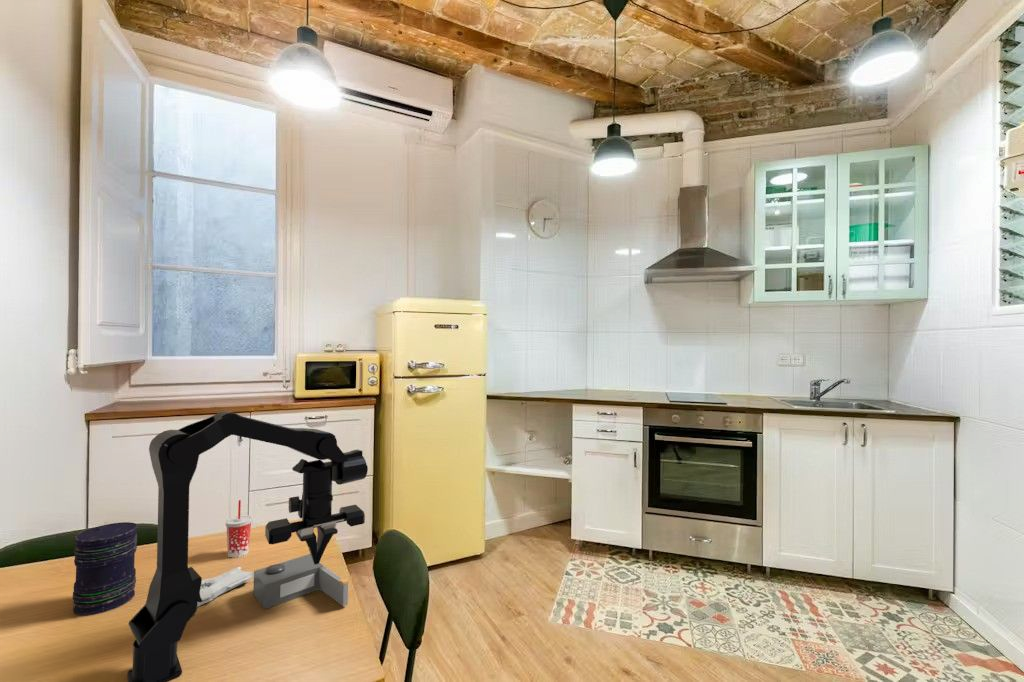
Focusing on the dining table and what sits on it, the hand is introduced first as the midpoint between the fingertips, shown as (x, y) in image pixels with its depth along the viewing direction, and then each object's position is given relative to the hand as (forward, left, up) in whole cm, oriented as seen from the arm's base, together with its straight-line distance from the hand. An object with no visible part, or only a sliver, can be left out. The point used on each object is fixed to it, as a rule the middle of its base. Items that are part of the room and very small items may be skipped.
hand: (316, 563), depth 93 cm
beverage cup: (+38, +6, -9) cm, 39 cm away
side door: (0, -4, -8) cm, 9 cm away
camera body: (+10, +2, -9) cm, 13 cm away
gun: (+21, +17, -9) cm, 28 cm away
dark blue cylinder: (+32, +32, -9) cm, 46 cm away
